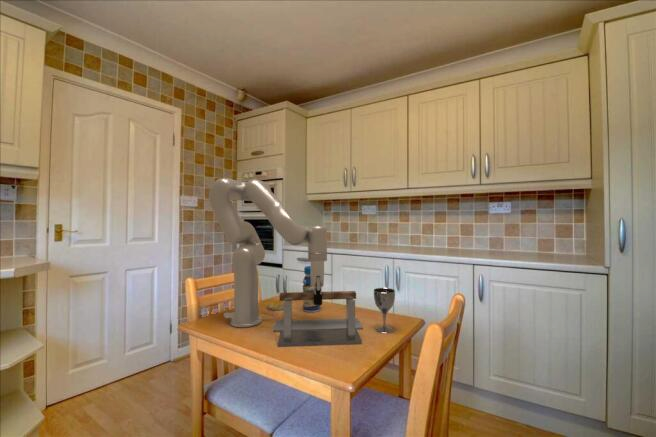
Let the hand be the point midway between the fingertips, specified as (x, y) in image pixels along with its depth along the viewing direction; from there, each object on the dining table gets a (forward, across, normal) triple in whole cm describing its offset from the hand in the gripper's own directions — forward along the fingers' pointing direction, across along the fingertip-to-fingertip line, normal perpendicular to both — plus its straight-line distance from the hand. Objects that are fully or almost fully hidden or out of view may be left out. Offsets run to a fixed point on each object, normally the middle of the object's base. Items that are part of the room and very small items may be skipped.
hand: (317, 302), depth 120 cm
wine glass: (+9, +7, +25) cm, 27 cm away
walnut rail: (-2, 0, 0) cm, 2 cm away
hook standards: (+9, +14, 0) cm, 17 cm away
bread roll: (+9, -26, -18) cm, 33 cm away
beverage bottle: (+9, -21, -2) cm, 23 cm away
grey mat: (+9, 0, 0) cm, 9 cm away
